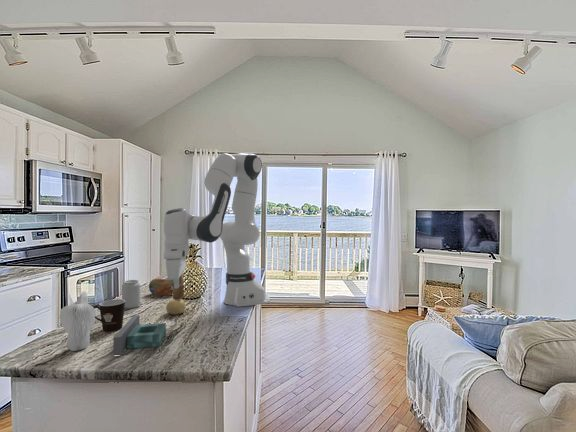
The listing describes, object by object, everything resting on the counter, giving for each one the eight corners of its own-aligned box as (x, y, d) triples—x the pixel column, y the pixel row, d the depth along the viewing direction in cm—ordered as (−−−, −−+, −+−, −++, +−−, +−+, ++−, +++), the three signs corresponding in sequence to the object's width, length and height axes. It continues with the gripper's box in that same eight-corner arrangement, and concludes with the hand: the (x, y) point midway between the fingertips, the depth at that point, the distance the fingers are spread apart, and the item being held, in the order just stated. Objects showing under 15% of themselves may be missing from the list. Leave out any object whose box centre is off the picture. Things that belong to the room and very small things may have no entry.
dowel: (184, 295, 123) (183, 270, 123) (183, 298, 119) (182, 273, 119) (173, 296, 122) (172, 271, 122) (172, 299, 118) (171, 273, 118)
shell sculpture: (71, 357, 95) (70, 298, 95) (58, 350, 99) (57, 294, 99) (99, 346, 102) (98, 292, 102) (86, 341, 106) (85, 289, 106)
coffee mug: (130, 325, 120) (130, 300, 120) (111, 334, 112) (111, 307, 112) (108, 322, 124) (107, 297, 124) (87, 330, 116) (87, 303, 116)
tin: (148, 294, 164) (148, 278, 164) (152, 292, 167) (152, 277, 167) (174, 296, 161) (173, 280, 161) (177, 294, 164) (177, 278, 164)
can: (143, 304, 147) (143, 279, 147) (134, 309, 139) (133, 283, 139) (128, 304, 148) (128, 278, 147) (118, 309, 140) (118, 282, 140)
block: (165, 334, 112) (165, 323, 112) (159, 346, 102) (159, 334, 102) (136, 336, 110) (136, 325, 110) (126, 348, 101) (126, 336, 100)
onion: (164, 317, 130) (164, 300, 130) (168, 311, 138) (168, 295, 138) (184, 315, 132) (184, 299, 131) (186, 309, 139) (186, 294, 139)
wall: (139, 330, 115) (139, 314, 115) (120, 356, 96) (120, 337, 95) (133, 331, 115) (133, 315, 115) (113, 356, 95) (113, 337, 95)
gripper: (173, 247, 130) (174, 280, 130) (162, 255, 109) (164, 294, 110) (189, 246, 131) (190, 279, 131) (181, 254, 111) (182, 292, 111)
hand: (178, 286), depth 121 cm, fingers closed on dowel, 4 cm apart
